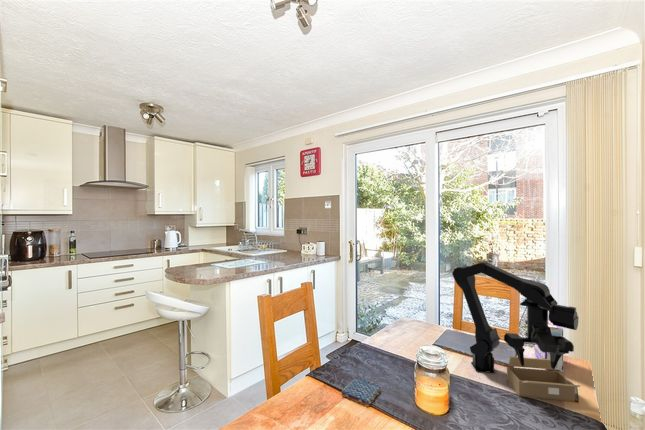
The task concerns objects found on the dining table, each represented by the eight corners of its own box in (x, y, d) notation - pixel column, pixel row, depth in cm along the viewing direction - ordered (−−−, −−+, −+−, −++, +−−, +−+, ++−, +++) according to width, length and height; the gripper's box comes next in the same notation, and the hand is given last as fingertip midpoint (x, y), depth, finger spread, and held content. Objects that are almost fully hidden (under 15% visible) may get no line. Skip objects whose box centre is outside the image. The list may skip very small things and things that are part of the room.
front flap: (522, 381, 96) (522, 382, 96) (527, 380, 93) (527, 382, 93) (572, 385, 94) (573, 387, 93) (580, 385, 90) (580, 386, 90)
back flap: (554, 369, 103) (553, 368, 104) (556, 360, 102) (556, 359, 102) (509, 366, 106) (508, 365, 106) (510, 357, 104) (510, 356, 105)
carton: (519, 396, 97) (519, 381, 97) (507, 381, 106) (507, 366, 106) (576, 402, 94) (576, 386, 94) (559, 385, 103) (559, 371, 103)
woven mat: (339, 397, 98) (339, 390, 98) (355, 382, 106) (355, 376, 106) (368, 409, 92) (368, 402, 92) (382, 392, 100) (382, 386, 100)
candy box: (564, 372, 111) (564, 328, 111) (545, 369, 113) (545, 326, 113) (550, 356, 124) (550, 316, 124) (533, 353, 126) (533, 315, 126)
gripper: (518, 328, 94) (518, 377, 94) (585, 332, 91) (585, 383, 91) (503, 316, 105) (503, 360, 105) (563, 319, 102) (563, 365, 102)
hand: (537, 367), depth 101 cm, fingers open, 9 cm apart
